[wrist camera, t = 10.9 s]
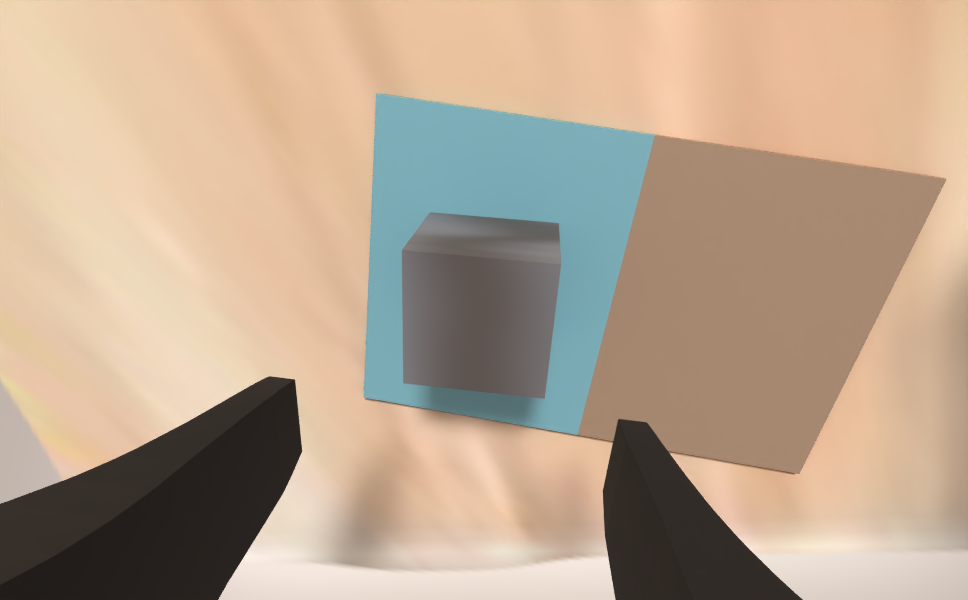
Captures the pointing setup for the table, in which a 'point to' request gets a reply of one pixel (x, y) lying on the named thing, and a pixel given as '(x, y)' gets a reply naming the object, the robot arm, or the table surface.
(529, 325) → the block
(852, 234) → the board
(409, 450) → the table surface
